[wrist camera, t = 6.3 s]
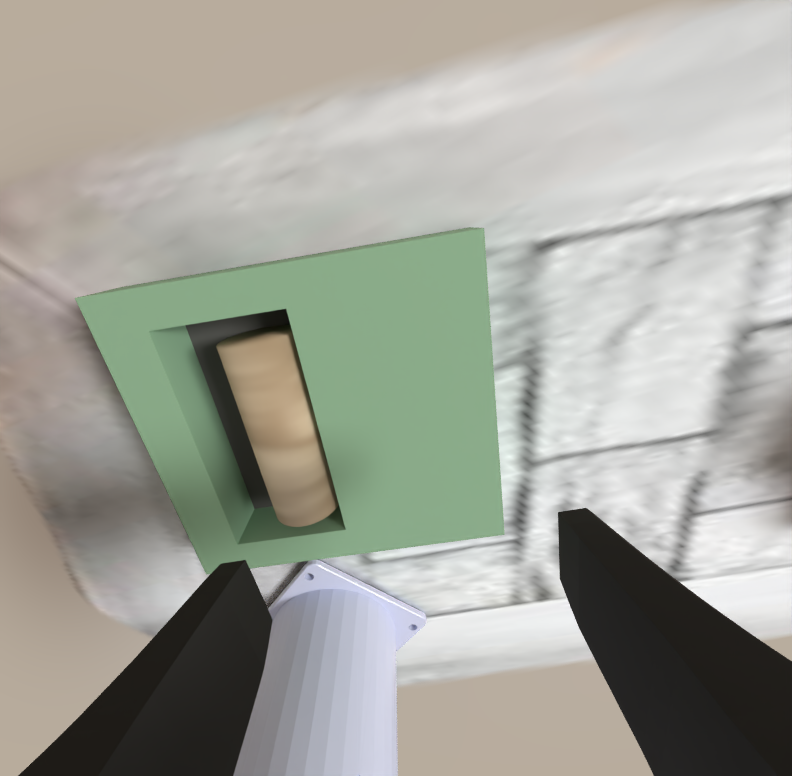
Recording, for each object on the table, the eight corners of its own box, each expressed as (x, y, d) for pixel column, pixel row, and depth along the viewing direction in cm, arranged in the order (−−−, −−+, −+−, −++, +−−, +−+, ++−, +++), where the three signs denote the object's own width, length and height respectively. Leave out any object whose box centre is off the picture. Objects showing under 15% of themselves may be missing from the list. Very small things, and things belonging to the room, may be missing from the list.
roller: (264, 508, 18) (317, 475, 20) (297, 537, 16) (354, 497, 18) (204, 344, 15) (274, 323, 17) (236, 353, 13) (311, 327, 15)
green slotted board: (469, 227, 15) (483, 228, 13) (491, 498, 20) (504, 534, 18) (121, 287, 16) (75, 298, 13) (226, 535, 21) (206, 574, 18)
